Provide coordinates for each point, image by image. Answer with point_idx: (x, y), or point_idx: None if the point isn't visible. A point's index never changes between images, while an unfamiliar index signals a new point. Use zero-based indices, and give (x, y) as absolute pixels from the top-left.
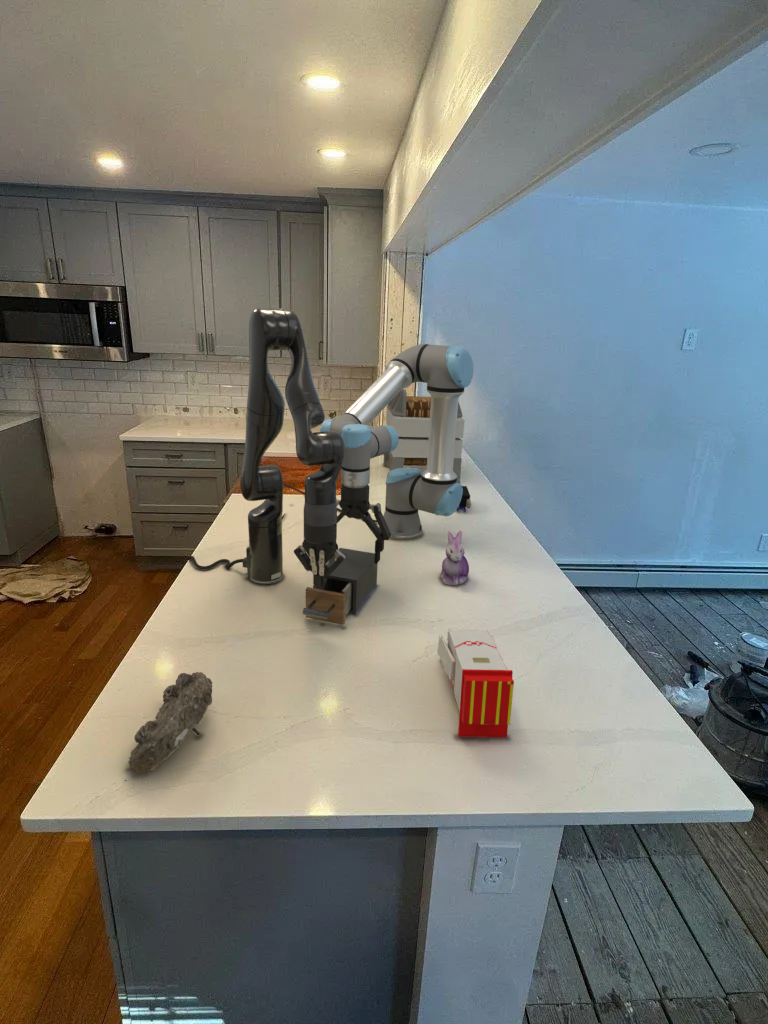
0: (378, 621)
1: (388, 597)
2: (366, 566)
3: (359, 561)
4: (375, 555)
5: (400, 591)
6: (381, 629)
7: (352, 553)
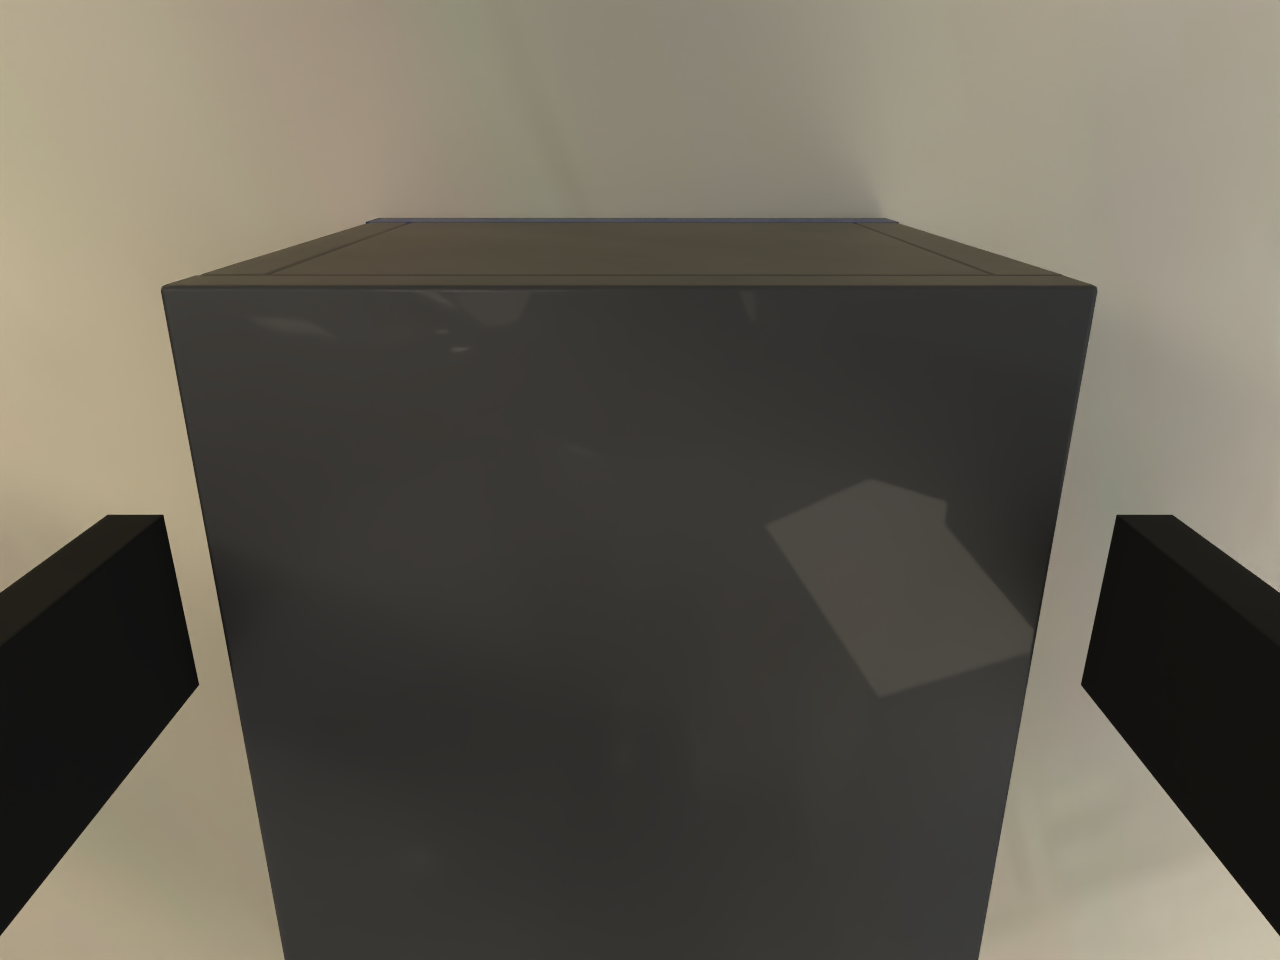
0: (1042, 858)
1: (1072, 440)
2: (973, 863)
3: (806, 748)
4: (1186, 794)
5: (1200, 247)
6: (1084, 943)
7: (551, 475)
